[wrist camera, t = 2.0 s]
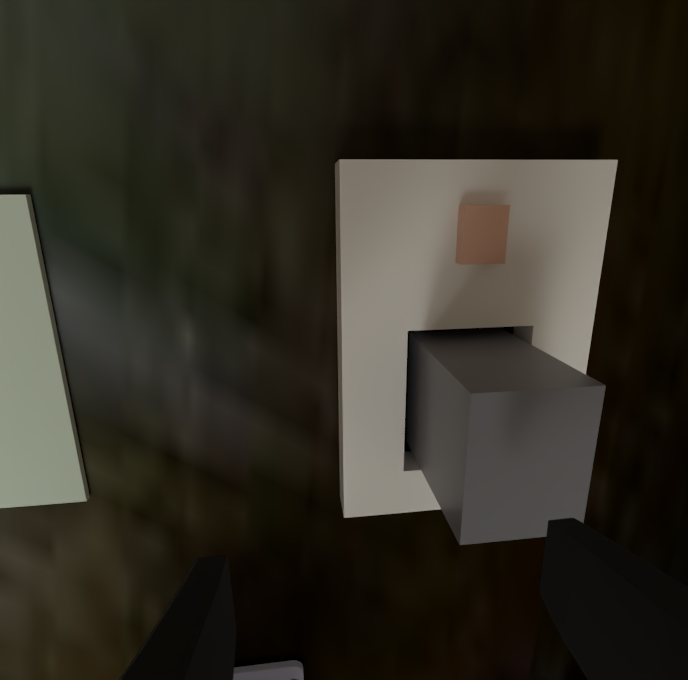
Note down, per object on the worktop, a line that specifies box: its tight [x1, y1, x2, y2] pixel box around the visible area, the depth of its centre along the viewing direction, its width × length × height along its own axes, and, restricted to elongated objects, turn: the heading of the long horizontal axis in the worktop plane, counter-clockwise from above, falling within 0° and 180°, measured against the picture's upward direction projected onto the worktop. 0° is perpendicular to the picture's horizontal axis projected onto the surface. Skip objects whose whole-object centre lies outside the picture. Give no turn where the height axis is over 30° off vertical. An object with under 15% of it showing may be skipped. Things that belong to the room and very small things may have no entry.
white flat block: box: [335, 159, 618, 518], centre depth 18 cm, size 14×10×2 cm
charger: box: [406, 329, 606, 545], centre depth 16 cm, size 5×4×6 cm
